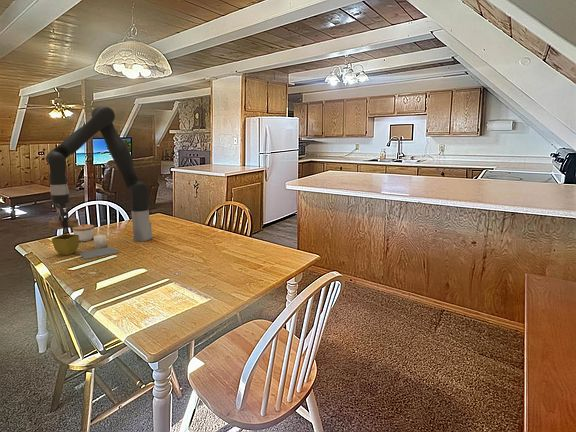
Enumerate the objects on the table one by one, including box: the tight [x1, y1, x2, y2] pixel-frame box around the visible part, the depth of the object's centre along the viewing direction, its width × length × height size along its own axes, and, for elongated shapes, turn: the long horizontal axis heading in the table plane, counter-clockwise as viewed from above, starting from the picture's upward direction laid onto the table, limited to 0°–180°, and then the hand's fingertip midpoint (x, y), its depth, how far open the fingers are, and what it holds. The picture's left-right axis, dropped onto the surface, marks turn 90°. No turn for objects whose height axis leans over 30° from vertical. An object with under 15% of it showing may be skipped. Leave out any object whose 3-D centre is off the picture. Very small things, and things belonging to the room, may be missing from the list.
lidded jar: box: [72, 223, 95, 242], centre depth 209 cm, size 11×11×9 cm
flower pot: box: [51, 233, 80, 256], centre depth 186 cm, size 9×9×9 cm
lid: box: [47, 217, 80, 231], centre depth 184 cm, size 12×6×4 cm, turn 132°
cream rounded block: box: [92, 234, 108, 249], centre depth 198 cm, size 6×6×6 cm
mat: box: [78, 246, 120, 261], centre depth 188 cm, size 16×12×1 cm
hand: (64, 226), depth 184 cm, fingers closed on lid, 6 cm apart
